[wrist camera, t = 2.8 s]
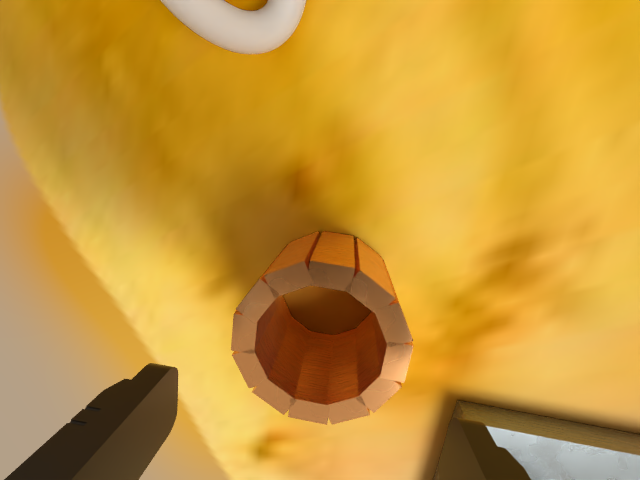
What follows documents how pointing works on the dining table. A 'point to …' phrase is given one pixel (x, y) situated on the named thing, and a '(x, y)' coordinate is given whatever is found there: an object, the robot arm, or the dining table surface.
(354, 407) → the wooden tube
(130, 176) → the dining table surface
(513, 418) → the base
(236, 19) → the knot
